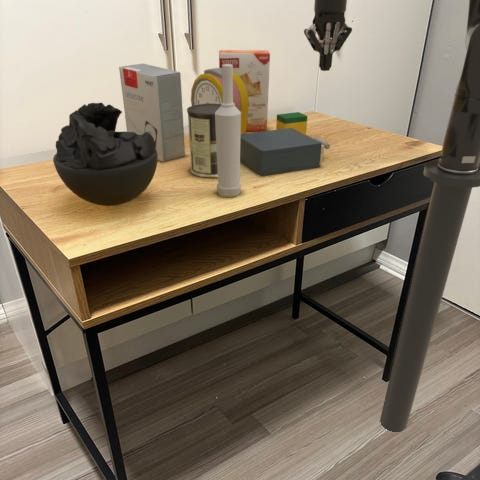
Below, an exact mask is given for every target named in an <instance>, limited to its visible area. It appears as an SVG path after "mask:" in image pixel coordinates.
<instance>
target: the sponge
mask: <svg viewBox="0 0 480 480" xmlns="http://www.w3.org/2000/svg"><path fill="white" fill-rule="evenodd" d="M307 127H308V115H306V114H303V113H302V112H300V111H296V112H288V113H277V114H276V129H275V130H278V129H286V128H293V129H295V130H297V131H299V132H301V133H303V134H305V135H307Z"/></svg>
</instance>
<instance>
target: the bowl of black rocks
mask: <svg viewBox="0 0 480 480" xmlns="http://www.w3.org/2000/svg"><path fill="white" fill-rule="evenodd" d="M122 113H123V111H122V110H121V109H119V108H117V107H114V106H113V105H111V104H107V105H105V104H104V103H103V102H90V103H87V104H85V103H84V104H83V105H81V106H80V107H78V109H75V110H74V111H73V112H71V113H70V114H69V118H68V119H69V120H68V122H69V123H68V125H65V126H63V127H62V128H61V129H60V131H61V132H60V133H59V135H58V138H57V139H58V140H56V141H55V149H56V153H55V154H54V155H53V158H52V162H53V165H54V168H55V170H56V173H57V175H58V176H59V178H60V179H61V181H62V183H64V185H65V187H66V188H67V189H68V190H70V192H71V193H73V194H74V195H76V196H77V197H79V198H80V199H81V200H83V201H85V202H87V203H90V204H93V205H97V206H103V207H113V206H114V207H115V206H120V205H124V204H127V203H130V202H132V201H134V200H135V199H137V198H138V197H139V196H141V195H142V194H143V193H144V192H145V191H146V190H147V188H148V187H149V185H150V184H151V182H152V181H153V179H154V176H155V173H156V171H157V170H156V169H157V166H158V160H157V159H158V153H157V150H156V149H155V144H154V138H153V137H152V135H151V134H150V133H149V132H145V133H144V134H142V135H138V134H136V133H135V132H127V131H117V124H118V119H119V118H120V116H121V115H122Z"/></svg>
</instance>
